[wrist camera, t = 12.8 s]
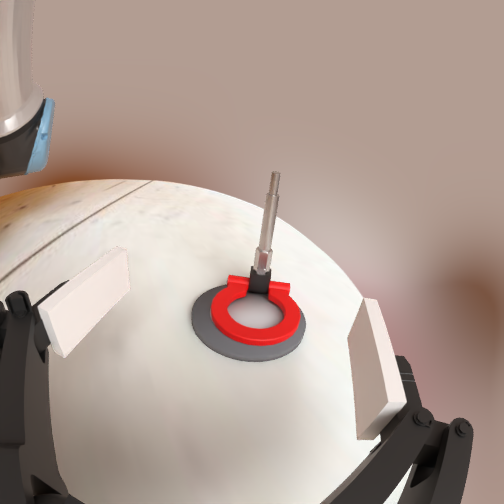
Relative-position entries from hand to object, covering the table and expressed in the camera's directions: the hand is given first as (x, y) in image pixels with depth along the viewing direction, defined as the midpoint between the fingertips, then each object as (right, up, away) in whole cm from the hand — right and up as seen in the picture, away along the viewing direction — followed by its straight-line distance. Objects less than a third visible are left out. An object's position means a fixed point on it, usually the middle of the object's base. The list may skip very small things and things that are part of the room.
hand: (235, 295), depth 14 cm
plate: (+1, -4, +12) cm, 13 cm away
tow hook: (+1, -4, +12) cm, 13 cm away
